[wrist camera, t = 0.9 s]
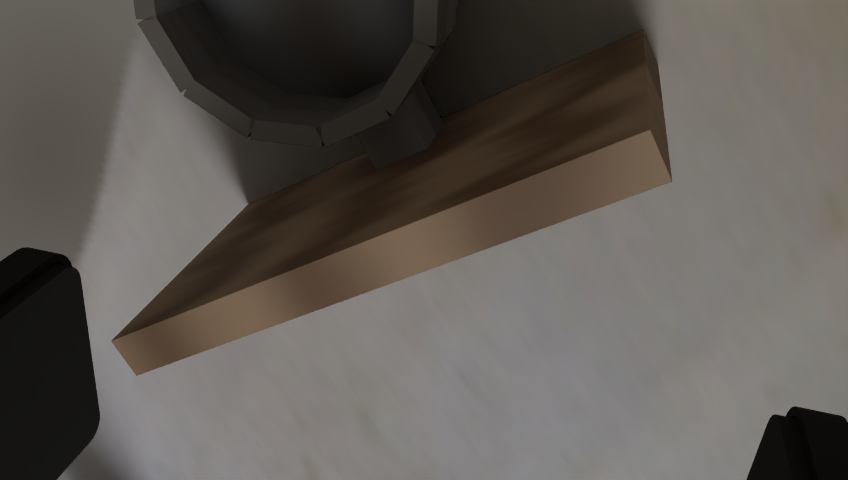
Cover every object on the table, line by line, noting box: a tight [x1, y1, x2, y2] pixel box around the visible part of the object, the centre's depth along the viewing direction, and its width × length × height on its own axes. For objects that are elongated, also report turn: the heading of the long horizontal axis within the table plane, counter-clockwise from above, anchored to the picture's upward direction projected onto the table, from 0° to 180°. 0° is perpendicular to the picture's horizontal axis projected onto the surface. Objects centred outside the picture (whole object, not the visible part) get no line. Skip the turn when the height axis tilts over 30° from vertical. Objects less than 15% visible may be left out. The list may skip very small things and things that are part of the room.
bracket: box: [112, 0, 672, 376], centre depth 28 cm, size 20×15×12 cm
